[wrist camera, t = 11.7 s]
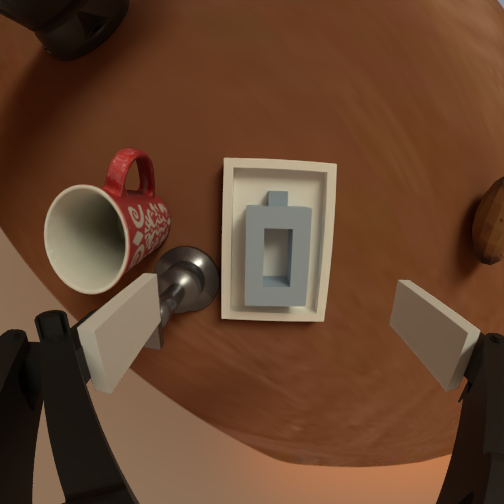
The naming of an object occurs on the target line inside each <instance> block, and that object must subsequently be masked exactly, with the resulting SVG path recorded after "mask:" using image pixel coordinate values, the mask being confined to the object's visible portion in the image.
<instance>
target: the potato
mask: <svg viewBox="0 0 504 504" xmlns="http://www.w3.org/2000/svg"><path fill="white" fill-rule="evenodd" d="M472 242H473V246H474V250H475V255H476V256H477V257H478V259H479V260H480V261H481V263H484V264H488V265H492V264H494V263H496V262H499V261H501V259H502V258H503V257H504V177H502V178H500V179H499V180H497V181H495V183H494V184H493V185H492V186H491V187H490V189H489V190H488V191H487V192H486V193H485V195H484V197H483V199H482V200H481V202H480V204H479V206H478V208H477V210H476V213H475V217H474V221H473V225H472Z"/></svg>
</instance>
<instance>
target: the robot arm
mask: <svg viewBox="0 0 504 504" xmlns="http://www.w3.org/2000/svg"><path fill="white" fill-rule="evenodd" d="M128 6H129V0H0V14H2V15H3V16H5V17H7V18H9V19H11V20H13V21H15V22H17V23H19V24H21V25H22V26H24V27H26V28H28V29H30V30H31V31H33V32H34V33H35V35H36V36H37V38H38V39H39V40H40V42H42V44H43V47H44V49H45V51H46V52H47V53H48V54H49V55H51V56H53V57H55V58H56V59H59V60H72V59H75V58H78V57H80V56H82V55H84V54H86V53H88V52H90V51H91V50H93V49H94V48H96V47H97V46H98V45H100V44H101V43H102V42H103V41H104V40H105V39H107V38H108V37H109V36H110V35H111V34H112V32H113V31H114V30H115V29H116V28H117V27H118V25H119V24H120V23H121V21H122V19H123V18H124V16H125V14H126V12H127V9H128ZM34 321H35V324H36V328H37V331H38V335H39V339H40V342H28V339H27V336H26V333H25V331H23V330H19V329H15V330H13V329H11V330H10V331H9V330H8V331H6V332H5V333H3V334H2V335H1V336H0V504H32V488H33V486H32V485H33V470H34V457H35V449H36V441H37V433H38V427H39V421H40V415H41V410H42V405H43V400H44V407H45V414H46V421H47V427H48V433H49V438H50V443H51V447H52V452H53V456H54V461H55V464H56V469H57V472H58V476H59V479H60V483H61V486H62V489H63V492H64V496H65V500H66V501H65V503H62V504H139V502H138V500H137V499H136V497H135V495H134V494H133V492H132V490H131V488H130V486H129V484H128V483H127V481H126V479H125V477H124V475H123V473H122V471H121V470H120V467H119V465H118V463H117V461H116V459H115V457H114V455H113V453H112V451H111V448H110V446H109V444H108V442H107V439H106V437H105V435H104V432H103V430H102V428H101V425H100V422H99V420H98V417H97V414H96V412H95V409H94V406H93V403H92V401H91V398H90V395H89V392H88V389H87V386H86V384H87V382H88V381H89V379H90V378H91V381H92V383H93V387H94V390H96V391H100V392H104V393H108V394H112V392H113V391H114V389H115V388H116V386H117V385H118V383H119V382H120V380H121V379H122V377H123V376H124V374H125V372H126V371H127V370H128V368H129V367H130V365H131V364H132V362H133V361H134V359H135V358H136V356H137V355H138V353H139V352H140V350H141V349H142V347H143V346H144V344H145V343H146V342H147V340H148V339H149V337H150V336H151V334H152V333H153V331H154V330H155V329H156V327H157V326H158V324H159V323H160V321H161V318H160V307H159V296H158V283H157V274H149V273H143V274H142V275H141V276H140V277H138V278H137V279H136V280H135V281H133V282H132V283H131V284H130V285H128V286H127V287H126V288H125V289H123V290H122V291H121V292H120V293H118V294H117V295H116V296H115V297H113V298H112V299H111V300H110V301H108V302H107V303H106V304H105V305H104V306H102V307H101V308H98V309H96V310H94V311H91V312H90V313H89V314H87V315H86V316H85V317H84V318H82V319H81V320H80V322H78V323H76V324H75V325H74V326H73V327H72V328H70V327H69V323H68V318H67V314H66V313H65V312H64V311H61V310H51V311H46V312H43V313H41V314H39V315H38V316H36V318H35V320H34ZM389 325H390V326H391V327H392V328H393V329H394V331H395V332H396V333H397V334H398V335H399V336H400V337H401V339H402V340H403V341H404V342H405V343H406V344H407V345H408V347H409V348H410V349H411V350H412V351H413V352H414V354H415V355H416V356H417V357H418V358H419V359H420V361H421V362H422V363H423V364H424V365H425V367H426V368H427V369H428V370H429V371H430V373H431V374H432V375H433V376H434V377H435V379H436V380H437V381H438V382H439V384H440V385H441V386H442V387H443V389H444V390H445V391H449V390H453V389H456V388H459V385H460V383H461V381H462V379H463V376H465V377H466V379H467V380H468V382H467V384H466V386H465V388H464V390H463V392H462V394H461V397H460V399H459V401H458V402H460V401H461V400H462V399H463V403H462V409H461V415H460V421H459V426H458V431H457V435H456V440H455V444H454V448H453V452H452V456H451V460H450V463H449V467H448V470H447V473H446V477H445V480H444V483H443V486H442V489H441V491H440V494H439V497H438V500H437V502H436V504H504V336H502V335H501V334H497V333H488V334H486V335H484V334H482V333H481V332H480V330H479V329H477V328H476V327H475V326H473V325H472V324H471V323H469V322H468V321H467V320H465V319H464V318H463V317H461V316H460V315H459V314H457V313H456V312H454V311H453V310H452V309H450V308H449V307H447V306H446V305H445V304H443V303H442V302H440V301H439V300H438V299H436V298H435V297H433V296H432V295H430V294H429V293H427V292H426V291H425V290H423V289H422V288H420V287H419V286H417V285H416V284H414V283H413V282H411V281H410V280H398V282H397V288H396V294H395V299H394V304H393V309H392V314H391V319H390V323H389Z"/></svg>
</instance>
